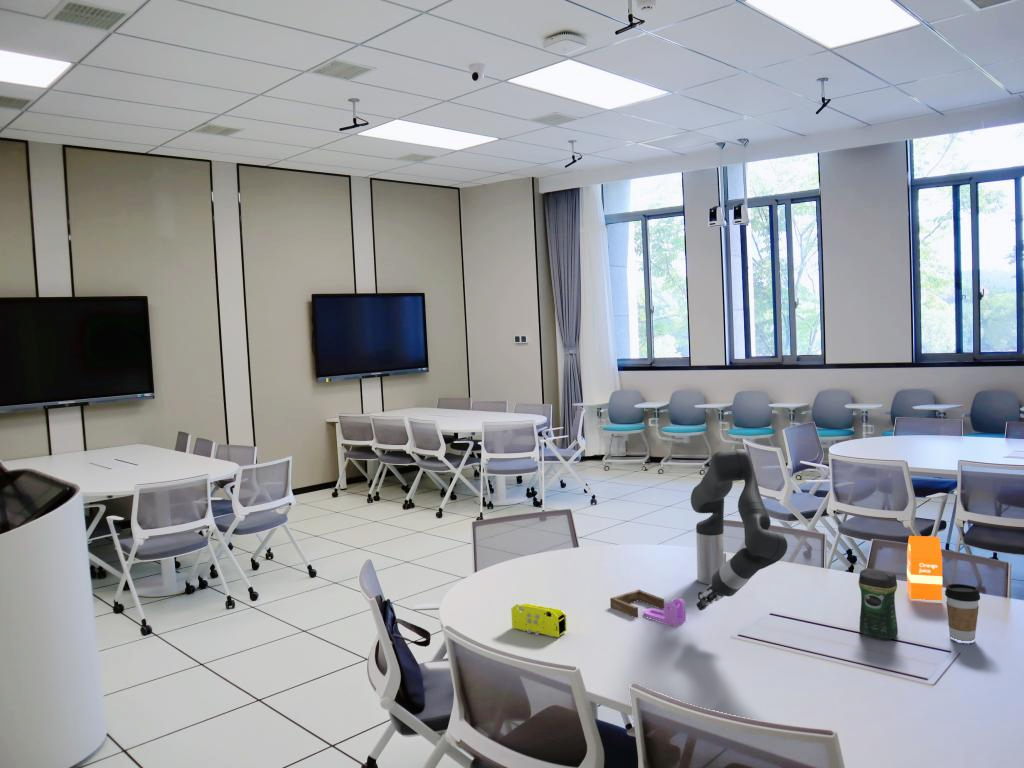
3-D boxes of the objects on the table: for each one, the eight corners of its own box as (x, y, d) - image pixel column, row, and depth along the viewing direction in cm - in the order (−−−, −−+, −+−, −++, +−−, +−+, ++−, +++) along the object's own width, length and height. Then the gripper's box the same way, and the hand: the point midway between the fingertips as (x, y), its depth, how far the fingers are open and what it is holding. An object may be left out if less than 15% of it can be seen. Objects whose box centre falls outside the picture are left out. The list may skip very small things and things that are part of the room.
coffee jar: (901, 634, 218) (901, 570, 216) (891, 643, 212) (891, 577, 211) (865, 626, 225) (865, 563, 223) (855, 634, 219) (854, 570, 218)
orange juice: (942, 603, 239) (942, 540, 238) (910, 601, 242) (910, 538, 241) (937, 594, 247) (937, 533, 245) (906, 592, 250) (906, 532, 248)
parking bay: (639, 598, 254) (638, 589, 254) (664, 608, 245) (664, 599, 245) (610, 607, 248) (610, 598, 247) (635, 617, 238) (634, 608, 238)
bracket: (685, 621, 234) (685, 599, 233) (674, 627, 230) (674, 604, 230) (651, 611, 243) (650, 589, 243) (640, 616, 240) (639, 594, 239)
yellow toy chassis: (511, 630, 233) (510, 603, 232) (521, 624, 237) (520, 597, 237) (558, 640, 224) (557, 612, 223) (567, 633, 229) (566, 606, 228)
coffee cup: (967, 648, 207) (968, 594, 206) (938, 637, 215) (938, 585, 213) (986, 641, 211) (987, 588, 210) (956, 631, 218) (956, 579, 217)
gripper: (740, 559, 218) (708, 590, 229) (707, 569, 211) (676, 601, 222) (755, 583, 214) (722, 613, 225) (723, 593, 207) (690, 624, 218)
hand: (699, 607), depth 223 cm, fingers closed
